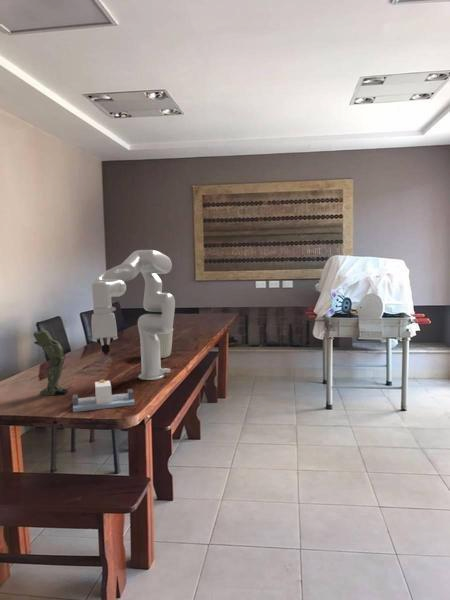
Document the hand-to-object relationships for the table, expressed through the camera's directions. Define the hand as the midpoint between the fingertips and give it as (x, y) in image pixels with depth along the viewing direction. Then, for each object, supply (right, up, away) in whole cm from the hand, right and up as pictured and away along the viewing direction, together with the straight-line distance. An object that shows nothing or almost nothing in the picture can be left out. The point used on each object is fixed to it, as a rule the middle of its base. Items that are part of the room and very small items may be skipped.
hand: (105, 353), depth 201 cm
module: (0, -19, -5) cm, 19 cm away
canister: (+11, -12, +84) cm, 85 cm away
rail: (0, -19, -5) cm, 19 cm away
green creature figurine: (-27, -19, +12) cm, 35 cm away
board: (0, -20, -5) cm, 21 cm away
